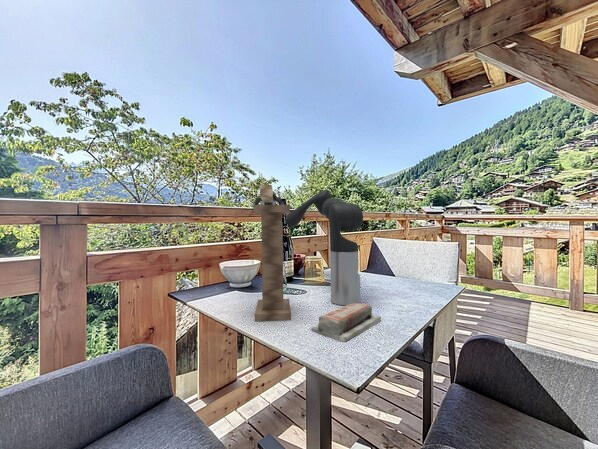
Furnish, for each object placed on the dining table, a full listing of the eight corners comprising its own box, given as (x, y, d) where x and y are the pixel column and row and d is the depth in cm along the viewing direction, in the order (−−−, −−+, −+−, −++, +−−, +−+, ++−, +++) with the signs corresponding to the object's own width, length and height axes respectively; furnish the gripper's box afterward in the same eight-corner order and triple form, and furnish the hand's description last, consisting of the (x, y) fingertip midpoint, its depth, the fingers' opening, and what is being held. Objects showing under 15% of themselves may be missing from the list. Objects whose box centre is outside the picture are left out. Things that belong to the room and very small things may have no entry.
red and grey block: (344, 323, 59) (310, 313, 66) (345, 345, 59) (311, 333, 66) (381, 304, 72) (350, 298, 79) (381, 322, 72) (350, 314, 79)
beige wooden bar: (273, 202, 113) (273, 192, 113) (271, 196, 89) (271, 184, 89) (263, 202, 113) (263, 192, 113) (259, 196, 89) (259, 184, 89)
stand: (288, 304, 87) (287, 207, 87) (291, 320, 73) (289, 204, 73) (258, 305, 86) (257, 208, 86) (254, 321, 72) (253, 205, 72)
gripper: (285, 222, 121) (285, 200, 106) (253, 222, 120) (249, 200, 105) (284, 208, 125) (285, 185, 110) (254, 208, 123) (250, 185, 109)
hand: (267, 192), depth 107 cm, fingers closed on beige wooden bar, 4 cm apart
